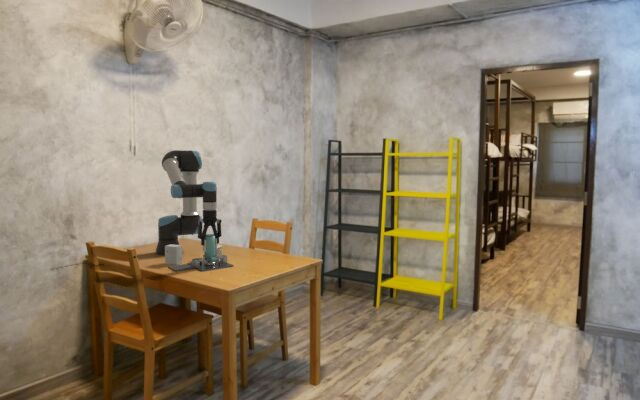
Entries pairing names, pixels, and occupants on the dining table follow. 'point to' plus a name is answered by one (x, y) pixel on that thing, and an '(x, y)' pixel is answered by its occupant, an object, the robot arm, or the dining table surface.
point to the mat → (181, 267)
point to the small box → (173, 254)
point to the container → (218, 249)
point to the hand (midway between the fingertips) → (209, 250)
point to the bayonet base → (210, 263)
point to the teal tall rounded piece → (210, 247)
